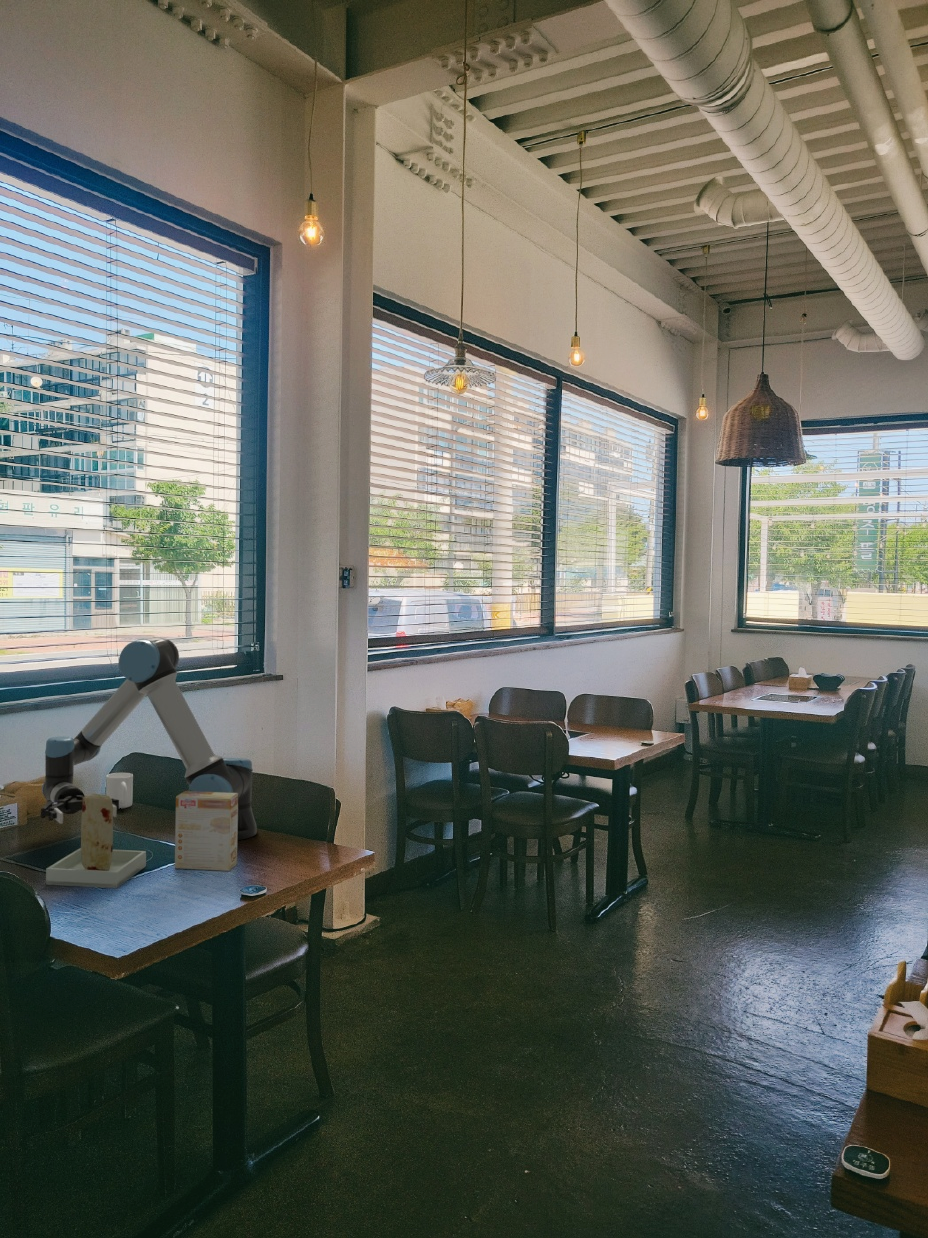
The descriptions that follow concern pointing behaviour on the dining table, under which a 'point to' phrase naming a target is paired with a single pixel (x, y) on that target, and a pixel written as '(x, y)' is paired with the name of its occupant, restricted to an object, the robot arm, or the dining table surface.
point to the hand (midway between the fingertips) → (88, 815)
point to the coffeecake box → (206, 830)
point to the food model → (97, 832)
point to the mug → (120, 788)
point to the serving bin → (75, 874)
